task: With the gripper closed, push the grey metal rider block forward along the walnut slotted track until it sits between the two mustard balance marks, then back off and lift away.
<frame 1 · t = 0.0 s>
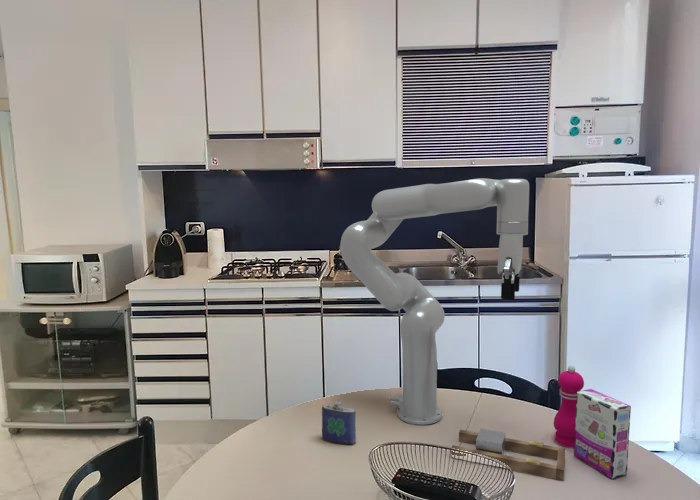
hand: (510, 295, 134), 37 cm above the table, tool pointing down, fingers open, 9 cm apart
candy bar box: (599, 466, 122), on the table
rider: (490, 455, 127), resting in track
track: (507, 458, 126), on the table
pepper mill: (568, 442, 133), on the table
flask: (338, 441, 135), on the table
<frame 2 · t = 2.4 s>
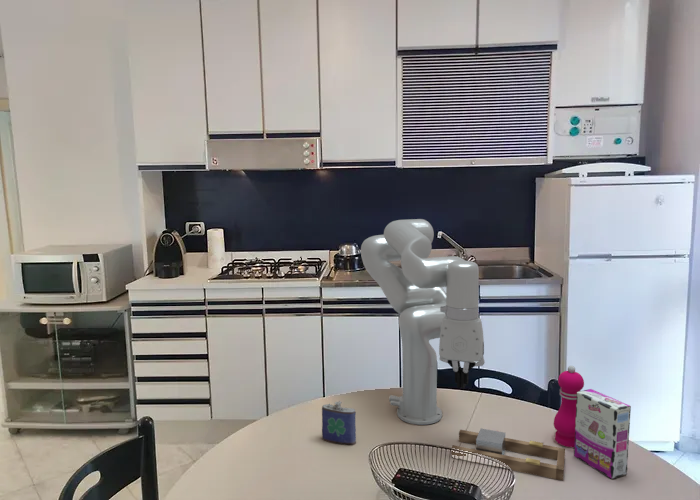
hand: (461, 386, 128), 16 cm above the table, tool pointing down, fingers closed
nothing on the table moved.
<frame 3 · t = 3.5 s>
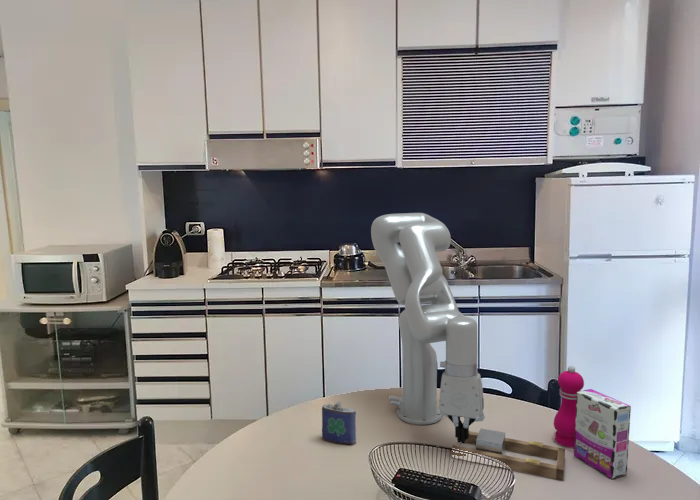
hand: (462, 440, 129), 3 cm above the table, tool pointing down, fingers closed
nothing on the table moved.
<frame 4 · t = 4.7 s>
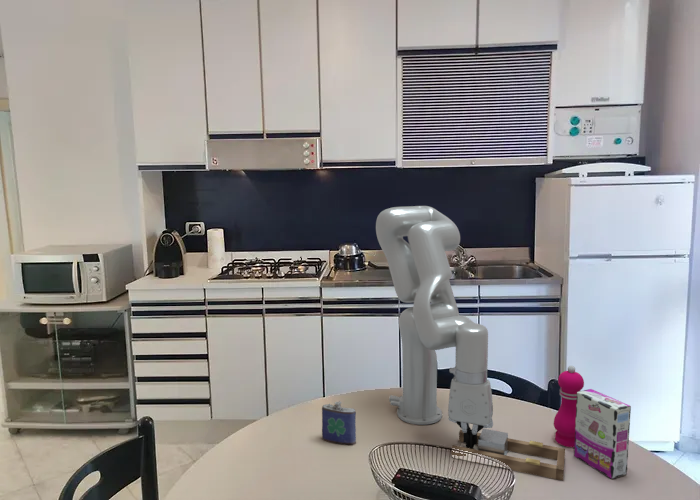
hand: (470, 446, 129), 1 cm above the table, tool pointing down, fingers closed
nothing on the table moved.
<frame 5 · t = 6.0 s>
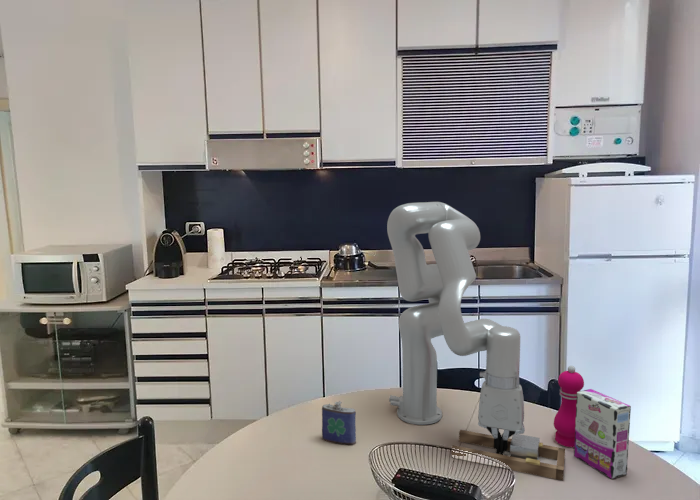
hand: (500, 452, 126), 1 cm above the table, tool pointing down, fingers closed
rider: (524, 461, 124), resting in track, touching gripper
everything else where it was.
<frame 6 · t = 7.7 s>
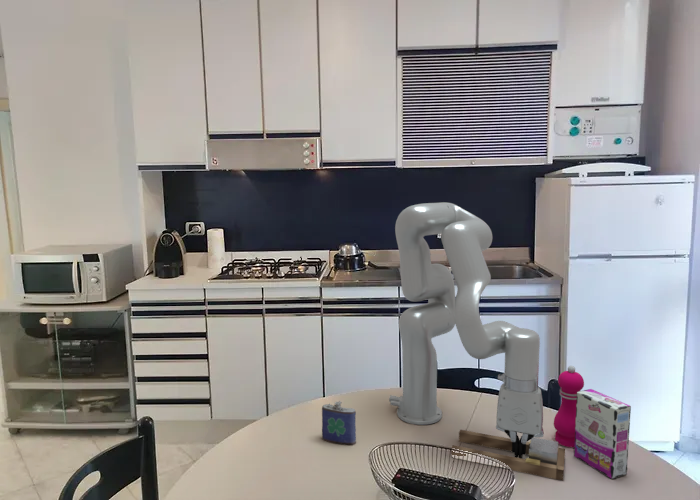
hand: (518, 455, 124), 1 cm above the table, tool pointing down, fingers closed
rider: (543, 465, 123), resting in track, touching gripper
everything else where it was.
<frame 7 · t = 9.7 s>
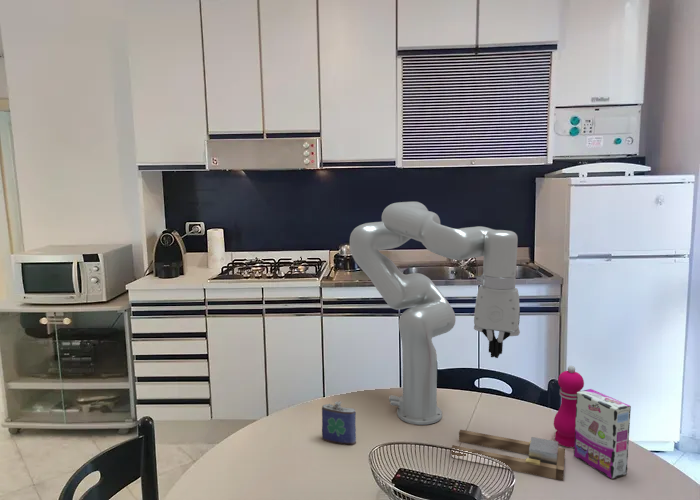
hand: (495, 355, 128), 24 cm above the table, tool pointing down, fingers closed
rider: (543, 465, 123), resting in track
everything else where it was.
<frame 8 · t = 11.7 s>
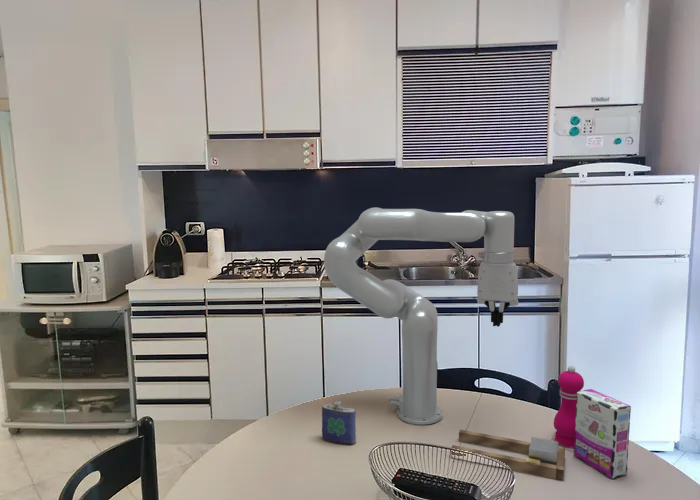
hand: (496, 325, 141), 27 cm above the table, tool pointing down, fingers closed
nothing on the table moved.
at the end: rider inside the target area (1.5 cm from its centre), resting in track; rider tilted 0°; rider moved 12.0 cm from its start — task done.
